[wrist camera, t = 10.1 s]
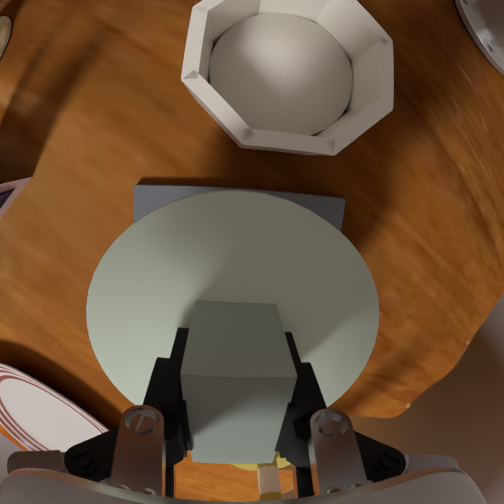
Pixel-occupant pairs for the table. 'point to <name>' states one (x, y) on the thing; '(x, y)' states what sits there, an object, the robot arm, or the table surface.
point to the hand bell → (4, 32)
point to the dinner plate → (42, 414)
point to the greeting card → (10, 192)
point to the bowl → (289, 72)
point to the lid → (233, 313)
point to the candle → (268, 477)
